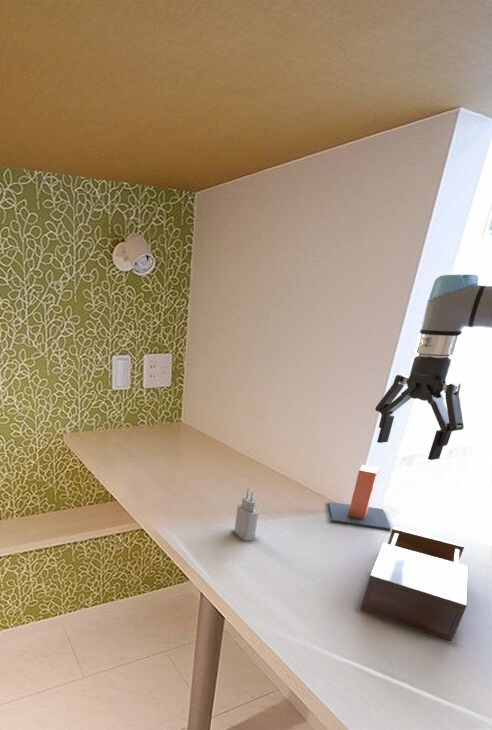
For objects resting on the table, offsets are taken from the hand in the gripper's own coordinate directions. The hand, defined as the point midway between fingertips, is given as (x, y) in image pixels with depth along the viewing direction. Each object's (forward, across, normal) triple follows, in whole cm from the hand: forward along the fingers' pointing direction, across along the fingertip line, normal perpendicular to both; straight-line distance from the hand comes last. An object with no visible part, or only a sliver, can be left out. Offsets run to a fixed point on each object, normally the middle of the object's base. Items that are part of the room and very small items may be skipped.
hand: (406, 450), depth 103 cm
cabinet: (+21, +25, -22) cm, 39 cm away
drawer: (+20, +17, -10) cm, 28 cm away
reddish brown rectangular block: (+20, -8, -1) cm, 22 cm away
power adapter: (+21, -10, -36) cm, 43 cm away
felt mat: (+21, -8, -1) cm, 22 cm away
